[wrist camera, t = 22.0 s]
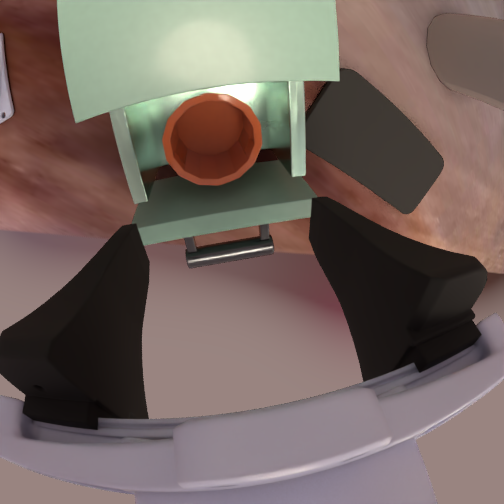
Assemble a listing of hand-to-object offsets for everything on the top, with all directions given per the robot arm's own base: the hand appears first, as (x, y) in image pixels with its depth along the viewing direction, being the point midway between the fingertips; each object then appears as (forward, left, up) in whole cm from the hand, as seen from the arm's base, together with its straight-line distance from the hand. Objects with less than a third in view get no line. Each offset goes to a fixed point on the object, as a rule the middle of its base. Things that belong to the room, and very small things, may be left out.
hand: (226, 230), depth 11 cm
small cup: (0, +3, -8) cm, 9 cm away
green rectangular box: (0, +12, -10) cm, 16 cm away
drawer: (0, +1, -10) cm, 10 cm away
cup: (+23, +10, -11) cm, 27 cm away
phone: (+14, -1, -10) cm, 17 cm away
